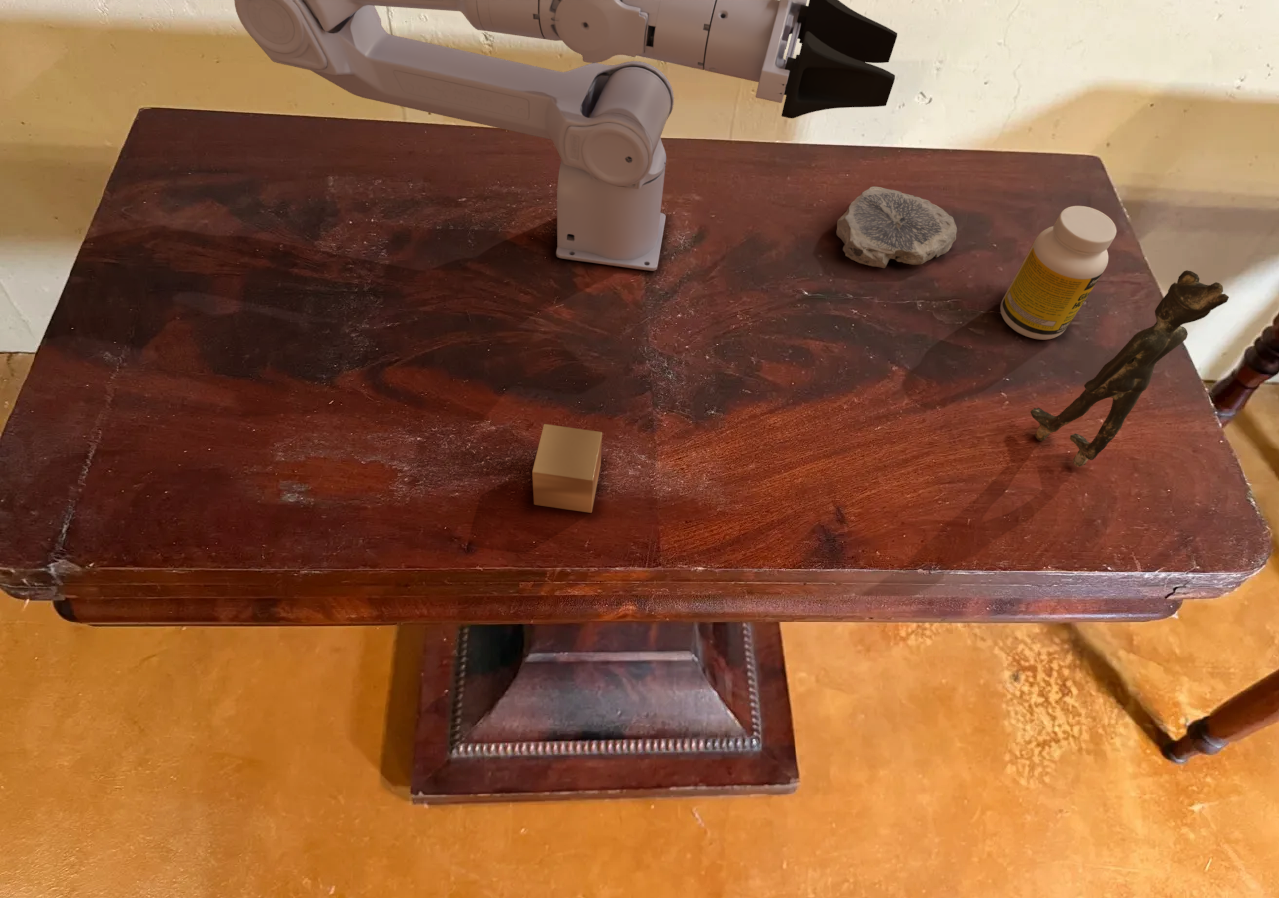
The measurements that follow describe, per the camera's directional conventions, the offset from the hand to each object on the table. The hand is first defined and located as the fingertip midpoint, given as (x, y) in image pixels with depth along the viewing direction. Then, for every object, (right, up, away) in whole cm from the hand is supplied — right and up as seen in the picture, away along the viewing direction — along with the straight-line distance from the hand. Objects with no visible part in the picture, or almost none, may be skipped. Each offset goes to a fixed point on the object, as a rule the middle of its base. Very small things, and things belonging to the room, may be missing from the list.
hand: (891, 68), depth 66 cm
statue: (+16, -28, +8) cm, 33 cm away
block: (-24, -31, +2) cm, 39 cm away
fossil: (+6, -8, +22) cm, 24 cm away
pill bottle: (+18, -16, +16) cm, 29 cm away
